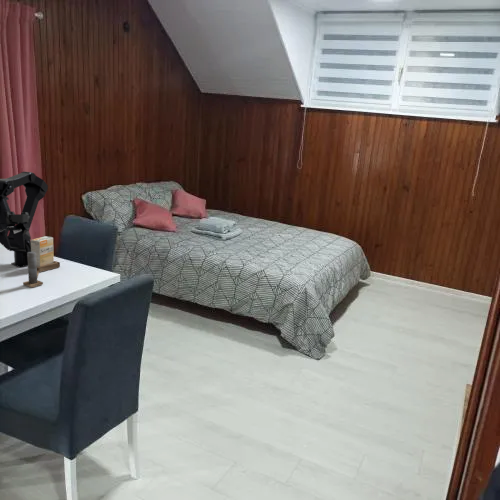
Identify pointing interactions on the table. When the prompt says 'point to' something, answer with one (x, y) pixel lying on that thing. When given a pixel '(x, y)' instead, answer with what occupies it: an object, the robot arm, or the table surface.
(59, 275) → the table surface
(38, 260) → the supplement box
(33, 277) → the grey knob lever
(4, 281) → the table surface
